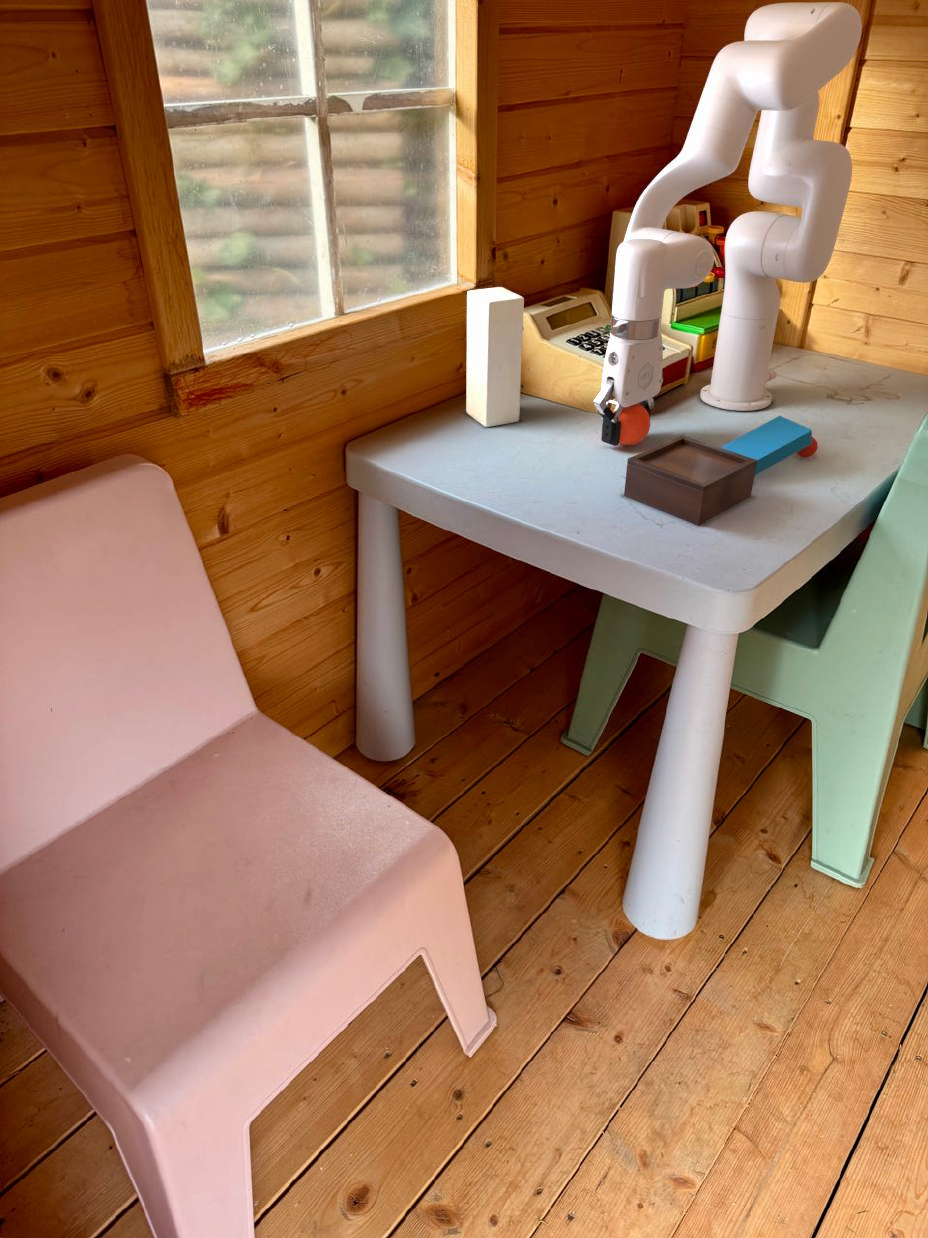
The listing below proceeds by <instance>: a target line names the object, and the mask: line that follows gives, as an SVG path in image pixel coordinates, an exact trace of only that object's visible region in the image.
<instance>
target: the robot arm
mask: <svg viewBox="0 0 928 1238" xmlns="http://www.w3.org/2000/svg"><path fill="white" fill-rule="evenodd" d="M862 23H863V22H862V19H861V15H860V12H859V11H858V9H856V8H855V6H853V5H852V4H850V3H847V2H841V1H840V2H839V1H836V2H835V1H833V2H832V1H827V2H825V1H823V2H820V1H819V2H797V1H796V2H777V3H772V4H771V3H770V4H767V5H764V6H761V7H759V8H757V9H755V10H753V12H752V13H751V14H750V15H749V17H748V19H747V21H746V24H745V28H744V38H743V40H741V41H740V40H739V41H734V42H731V43H729V44H727V45H725V46H724V47H722V49H720V51H719V52H718V53H717V54H716V56H715V58H714V60H713V62H712V64H711V66H710V70H709V73H708V76H707V79H706V81H705V85H704V86H703V90H702V92H701V96H700V98H699V101H698V104H697V107H696V110H695V113H694V115H693V119H692V121H691V124H690V126H689V130H688V132H687V135H686V139H685V141H684V144H683V147H682V149H681V151H680V152H679V153H678V155H677V156H676V157H675V158H674V159H673V160H671V161H670V162H669V163H668V164H667V165H666V166H665V167H664V168H663V169H662V170H661V171H660V172H658V174H657V175H656V176H655V177H654V178H653V179H652V180H651V182H650V183H649V184H648V185H647V187H646V188H645V189H644V190H643V191H642V193H641V194H640V196H639V197H638V200H637V201H636V204H635V206H634V208H633V211H632V214H631V217H630V220H629V223H628V226H627V229H626V231H625V235H624V237H623V238H624V239H623V241H622V242H621V243H620V244H619V245H618V247H617V250H616V255H615V265H614V266H615V267H614V278H613V279H614V280H613V292H612V305H611V306H612V307H611V318H610V329H609V338H608V342H607V347H606V351H605V356H604V361H603V369H602V375H601V387H600V388H601V389H600V391H599V393H598V394H597V396H596V397H595V399H594V400H593V405H594V407H595V408H596V410H597V413H598V414H599V416H600V419H601V420H602V425H601V426H602V428H601V439H600V441H601V442H603V443H605V444H608V445H611V446H613V447H618V446H619V445H620V444H619V439H620V428H621V422H619V421H618V420H619V417H620V415H621V412H622V409H623V407H629V406H632V405H634V404H637V403H639V404H640V405H642V406H643V407H644V408H645V409H646V410H647V412H648V413H649V417H650V418H651V416H652V409H653V408H654V406H655V399H657V398H656V397H657V396H658V394H659V393H660V392H661V387H662V384H663V382H664V377H663V365H664V364H663V363H664V362H663V361H664V352H663V351H664V347H663V344H664V343H663V336H662V333H661V327H662V326H661V325H662V319H663V308H664V297H665V292H666V290H671V289H672V290H673V289H690V288H694V287H696V286H698V285H699V284H701V283H703V282H704V281H705V280H706V279H707V278H708V276H709V275H710V274H711V272H712V269H713V267H714V263H715V253H714V250H713V247H712V245H711V243H710V242H708V240H706V239H705V238H703V237H701V236H698V235H696V234H691V233H685V232H680V231H676V230H670V229H666V228H663V227H664V224H665V221H666V220H667V217H668V216H669V214H670V212H671V211H672V209H673V208H674V206H676V205H677V203H678V202H679V201H681V200H682V199H683V198H684V197H686V196H687V195H689V194H690V193H692V192H694V191H695V190H698V189H700V188H702V187H704V186H707V185H709V184H712V183H714V182H716V181H719V180H721V179H723V178H726V177H728V176H729V175H731V174H733V173H734V172H735V171H736V170H737V168H738V166H739V164H740V161H741V158H742V156H743V153H744V151H745V148H746V143H748V139H749V136H750V133H751V131H752V128H753V127H754V126H753V125H754V122H755V120H756V118H757V115H758V113H759V112H760V111H761V112H760V118H759V123H758V127H757V133H756V137H755V143H754V147H753V151H752V152H753V153H752V156H751V162H750V165H749V166H750V167H749V171H748V181H747V183H748V184H747V186H748V187H747V188H748V191H749V193H750V195H751V196H752V197H753V198H754V199H756V200H758V201H760V202H761V201H762V202H765V203H769V204H775V205H782V206H789V207H794V208H795V207H797V208H801V216H796V215H791V214H785V213H778V212H772V211H765V210H764V211H762V210H755V211H754V210H753V211H748V212H746V213H742V214H741V215H739V216H737V217H736V218H735V219H734V220H733V221H732V222H731V224H730V225H729V228H728V229H727V232H726V236H725V239H724V240H725V241H724V264H725V265H724V266H725V267H724V268H725V271H724V272H725V275H724V287H723V288H724V289H723V296H722V304H721V310H720V317H719V324H718V330H717V338H716V346H715V351H714V358H713V366H712V373H711V377H710V384H707V385H705V386H703V387H702V388H701V389H700V392H699V393H700V394H699V397H700V399H701V400H702V401H703V402H704V403H706V404H707V405H709V406H712V407H715V408H718V409H722V410H728V411H737V412H747V411H748V412H750V411H751V412H752V411H757V410H762V409H765V408H767V407H769V406H770V405H771V404H772V401H773V395H772V393H771V392H770V391H768V390H767V389H766V385H767V383H769V382H770V381H773V380H774V379H776V377H777V372H776V370H774V369H769V366H770V361H771V356H772V351H773V344H774V339H775V334H776V328H777V323H778V317H779V313H780V306H781V296H780V290H779V286H778V284H777V280H776V279H778V280H783V281H789V282H794V283H801V284H802V283H803V284H807V283H812V282H815V281H817V280H818V279H819V278H821V277H822V275H823V274H824V273H825V271H826V270H827V268H828V266H829V264H830V262H831V259H832V256H833V253H834V250H835V245H836V243H837V239H838V236H839V235H838V234H839V231H840V226H841V223H842V219H843V215H844V212H845V208H846V203H847V199H848V196H849V192H850V187H851V184H852V183H851V182H852V178H853V161H852V156H851V154H850V152H849V149H847V147H845V146H844V145H843V144H841V143H839V142H836V141H831V140H821V139H820V140H819V139H815V138H814V136H815V135H814V134H815V130H816V124H817V121H818V119H817V118H818V114H819V110H820V94H819V91H820V90H822V89H823V88H824V87H825V86H826V85H827V84H828V83H829V82H831V81H832V80H833V79H834V78H835V77H836V76H839V74H840V73H841V72H842V71H843V70H844V69H845V68H846V67H847V66H848V64H849V63H850V62H851V61H852V59H853V57H854V56H855V54H856V52H857V50H858V47H859V44H860V41H861V37H862V31H863V24H862ZM612 405H614V406H615V407H616V408H615V407H614V408H615V411H614V413H613V412H612V410H613V409H611V408H612V407H613V406H612Z"/></svg>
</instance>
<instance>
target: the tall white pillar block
mask: <svg viewBox="0 0 928 1238" xmlns="http://www.w3.org/2000/svg"><path fill="white" fill-rule="evenodd" d="M524 306H525V297H523V296H521V295H520V294H518V293H515V292H513V291H511V290H509V289H507V288H505V287H503V286H496V287H488V288H479V289H471V290H468V291H467V294H466V386H465V387H466V397H465V398H466V399H465V400H466V401H465V402H466V403H465V405H466V406H465V407H466V408H465V412H466V414H468V415H469V416H470V417H471V418H473V419H474V420H475V421H476V422H478V423H479V424H480V425H482V426H483V427H485V428H490V427H495V426H503V425H507V424H513V423H517V422H519V421H520V407H521V384H522V383H521V381H522V359H523V358H522V357H523V356H522V355H523V331H524V311H525V309H524V308H525V307H524Z"/></svg>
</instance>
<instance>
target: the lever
mask: <svg viewBox="0 0 928 1238" xmlns="http://www.w3.org/2000/svg"><path fill="white" fill-rule="evenodd" d="M720 448H722V449H725V450H728V451H731V452H734V453H738V454H741V455H744V456H747V457H750V458H753V459H756V460H758V461H757V466H756V472H755V476H757V475H759V474H760V473H762V472H764V471H765V470H767V469H769V468H771V467H773V466H775V465H777V464H778V463H781V462H782V461H784V460H786V459H787V458H789V457H791V456H793V455H795V454H796V455H798V456H799V457H801V458H804V459H807V458H811V457H812V456H814V455H815V454H816V453H817V451H818V448H819V444H818V441H817V440H816V438H815V437H813V429H810V428H809V427H807V426H805V425H802V424H799V423H797V422H795V421H792V420H790V419H788V418H786V417H784V416H782V415H778V416H776V417H775V418H772V419H770V420H769V421H766V422H765V423H763V424H761V425H760V426H757V427H756V428H754V429H752V430H750V431H748V432H747V433H744V434H743V435H740V436H739V437H737V438H735V439H734V440H731V441H730V442H728V443H726V444H724V445H723V446H721V447H720Z"/></svg>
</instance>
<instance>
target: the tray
mask: <svg viewBox="0 0 928 1238" xmlns="http://www.w3.org/2000/svg"><path fill="white" fill-rule="evenodd" d="M757 461H758V460H756V459H753V458H750V457H747V456H744V455H741V454H738V453H734V452H731V451H728V450H725V449H722V448H721V447H720V446H717V445H713V444H710V443H708V442H704V441H701V440H698V439H696V438H692V437H689V436H686V435H683V434H681V435H678V436H675V437H674V438H672V439H669V440H667V441H665V442H663V443H660V444H659V445H656V446H653V447H651V448H649V449H647V450H644V451H642V452H639V453H637V454H635V455H633V456H630V457H629V458H627V462H626V470H625V471H626V472H625V479H624V481H625V482H624V490H623V491H624V492H623V496H624V497H626V498H629V499H631V500H634V501H636V502H639V503H641V504H644V505H646V506H648V507H651V508H654V509H656V510H659V511H662V512H664V513H666V514H669V515H670V516H671V515H672V516H674V517H675V518H676V517H677V518H679V519H681V520H684V521H686V522H689V523H692V524H694V525H697V526H700V525H703V524H704V523H706V522H707V521H710V520H711V519H713V518H716V517H717V516H719V515H721V514H722V513H724V512H726V511H728V510H730V509H732V508H733V507H736V506H737V505H739V504H741V503H742V502H745V501H746V500H749V499H751V497H752V494H753V493H752V492H753V487H754V482H755V478H756V477H755V476H756V475H755V472H756V466H757Z"/></svg>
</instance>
